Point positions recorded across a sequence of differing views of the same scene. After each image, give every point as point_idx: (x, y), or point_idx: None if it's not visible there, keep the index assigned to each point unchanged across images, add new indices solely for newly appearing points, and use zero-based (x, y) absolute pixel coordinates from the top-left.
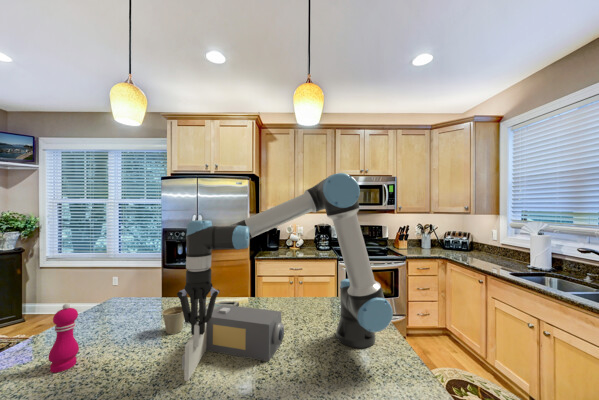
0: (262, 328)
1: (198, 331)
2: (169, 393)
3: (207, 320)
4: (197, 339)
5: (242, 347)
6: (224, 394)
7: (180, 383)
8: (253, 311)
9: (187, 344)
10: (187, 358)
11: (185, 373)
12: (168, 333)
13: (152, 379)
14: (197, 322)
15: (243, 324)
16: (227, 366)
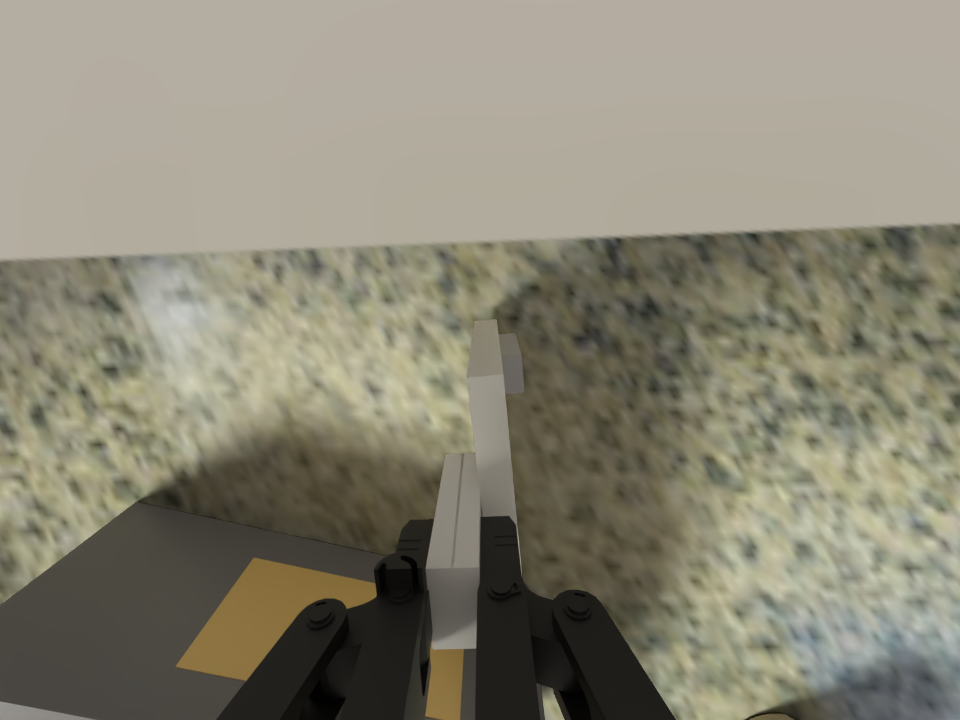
0: (7, 659)
1: (435, 525)
2: (538, 247)
3: (306, 620)
4: (450, 483)
5: (267, 569)
6: (256, 250)
7: (519, 322)
8: None
9: (488, 389)
10: (481, 349)
11: (491, 326)
12: (788, 717)
13: (682, 347)
14: (476, 631)
15: (173, 704)
16: (335, 457)
